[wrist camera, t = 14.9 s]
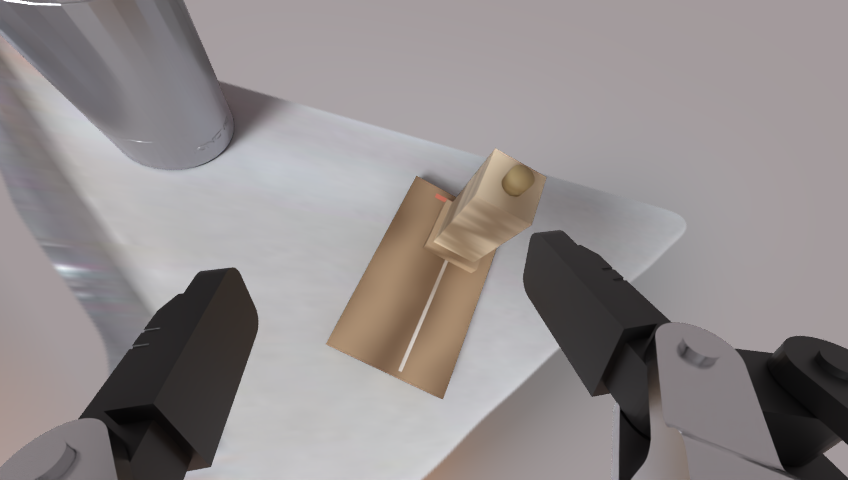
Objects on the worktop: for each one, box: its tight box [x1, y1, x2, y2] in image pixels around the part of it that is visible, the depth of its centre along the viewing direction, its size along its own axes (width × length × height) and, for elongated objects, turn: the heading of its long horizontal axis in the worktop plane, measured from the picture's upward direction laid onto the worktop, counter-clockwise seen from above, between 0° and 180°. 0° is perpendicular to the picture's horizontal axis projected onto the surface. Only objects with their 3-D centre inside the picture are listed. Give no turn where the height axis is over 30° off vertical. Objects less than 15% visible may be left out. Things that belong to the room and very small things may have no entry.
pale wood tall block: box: [423, 149, 546, 273], centre depth 25 cm, size 5×6×11 cm
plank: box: [326, 176, 496, 399], centre depth 29 cm, size 10×17×2 cm, turn 156°
